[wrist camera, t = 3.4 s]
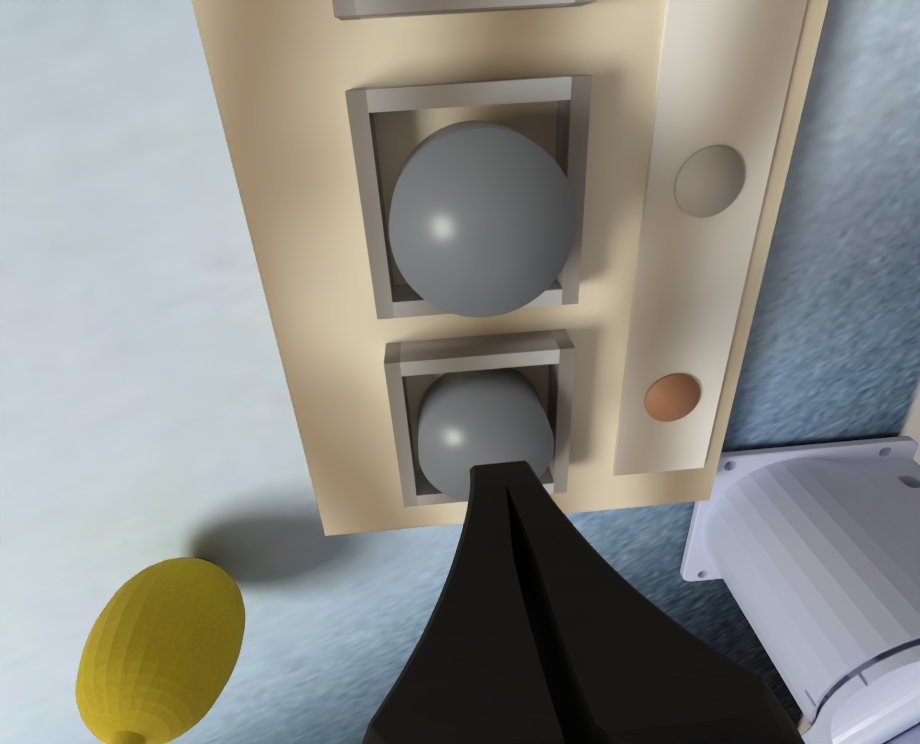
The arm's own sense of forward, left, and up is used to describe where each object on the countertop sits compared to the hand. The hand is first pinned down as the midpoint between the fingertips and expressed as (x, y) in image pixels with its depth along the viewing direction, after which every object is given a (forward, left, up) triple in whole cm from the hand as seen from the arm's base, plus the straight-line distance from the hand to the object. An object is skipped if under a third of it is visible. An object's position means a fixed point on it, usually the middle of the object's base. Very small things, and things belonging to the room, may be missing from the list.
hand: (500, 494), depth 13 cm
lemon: (+13, +10, -9) cm, 19 cm away
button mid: (0, -6, -5) cm, 7 cm away
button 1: (0, +2, -6) cm, 6 cm away
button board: (-2, -6, -9) cm, 10 cm away
